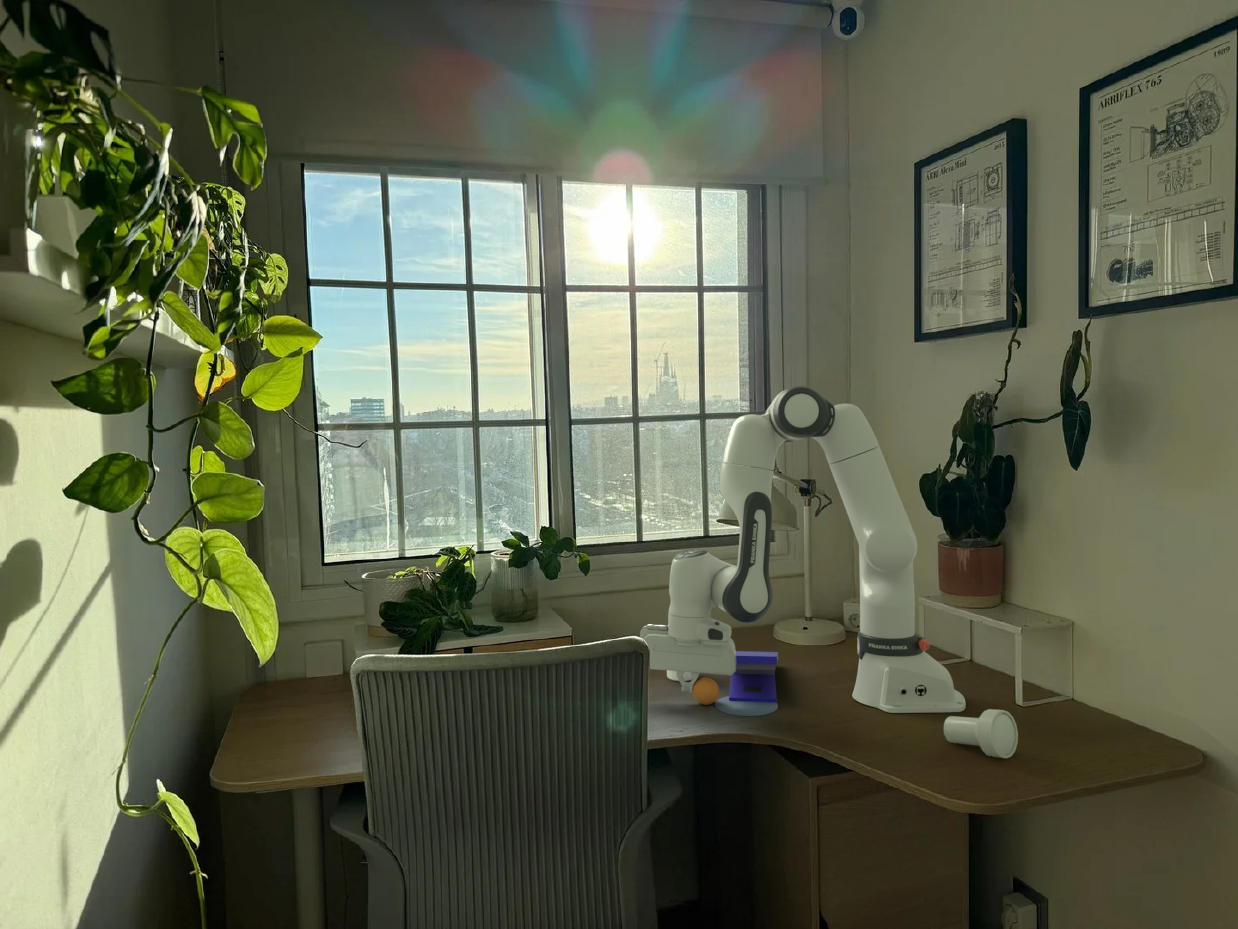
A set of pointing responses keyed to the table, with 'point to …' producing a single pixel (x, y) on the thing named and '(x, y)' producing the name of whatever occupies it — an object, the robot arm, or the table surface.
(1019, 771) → the table surface
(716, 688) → the ball
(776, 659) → the stapler
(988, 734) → the spotlight
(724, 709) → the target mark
